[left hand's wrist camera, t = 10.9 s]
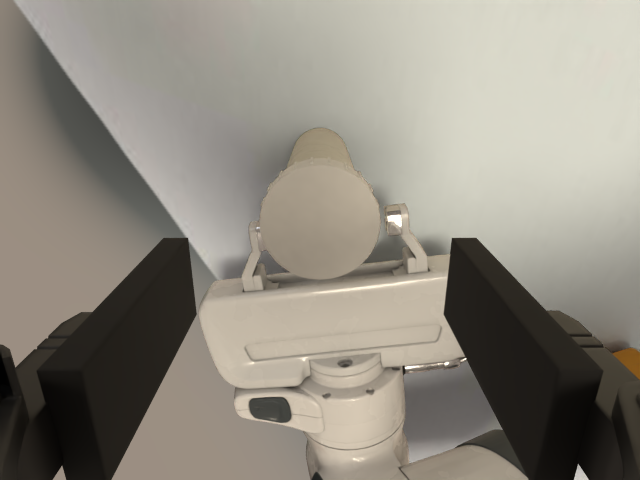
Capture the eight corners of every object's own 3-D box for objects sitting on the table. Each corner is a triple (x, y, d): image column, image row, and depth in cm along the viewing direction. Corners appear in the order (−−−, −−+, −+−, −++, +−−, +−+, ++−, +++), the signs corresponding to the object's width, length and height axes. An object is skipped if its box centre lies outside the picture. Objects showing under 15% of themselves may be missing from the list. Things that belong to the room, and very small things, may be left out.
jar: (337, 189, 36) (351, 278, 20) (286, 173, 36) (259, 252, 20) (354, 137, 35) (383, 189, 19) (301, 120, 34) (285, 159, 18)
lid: (356, 278, 22) (358, 294, 20) (250, 248, 21) (244, 262, 20) (394, 176, 20) (400, 185, 18) (279, 141, 19) (275, 147, 18)
